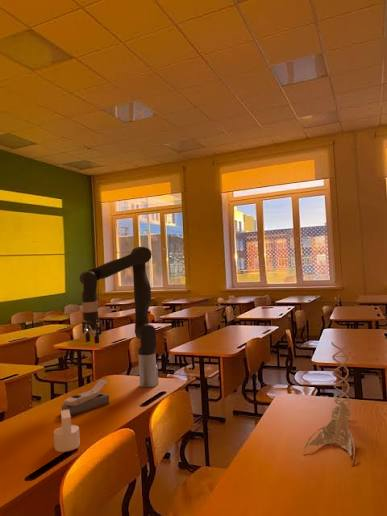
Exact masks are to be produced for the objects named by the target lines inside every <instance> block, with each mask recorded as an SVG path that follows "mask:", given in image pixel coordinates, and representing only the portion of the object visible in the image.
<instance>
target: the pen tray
mask: <svg viewBox="0 0 387 516" xmlns="http://www.w3.org/2000/svg"><path fill="white" fill-rule="evenodd" d="M108 403H109V404H110V395H109V394H107V393H104V392H99V393H98V395H97V397H96V398H94V399H91V400H89V401H86V402H84V403H82V404H80V405H76V406H70V405H66V406H63V407H61V411H62V410H68V409H69V411H70V416H71V417H72V416H76V415H80V414H82V413H85V412H89V411H91V410H93V409H97V408H99V406H100V407H103V406H106V405H109V404H108ZM63 404H64V403H62V404H61V405H63ZM105 404H106V405H105ZM102 405H103V406H102ZM96 407H97V408H96Z"/></svg>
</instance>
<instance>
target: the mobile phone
mask: <svg viewBox="0 0 387 516" xmlns="http://www.w3.org/2000/svg"><path fill="white" fill-rule="evenodd" d="M108 382H109V380H106V379H99V380H97V382H96V383H95V384H94V386H93V387H92V388H91V389H90V390H88V391H84V392H82V393H79V394H75V395H71V396H70V397H68V398H67V399H64V403H62V404H63V405H62V404H61V405H60V406H61V408H62V407H63V406H66V405H70V406H76V405H80V404H82V403H84V402H86V401H89V400H91V399H94V398H96V397H97V395H98V393H100V392H101V391H102V389H103V388H104V387H105V386H106V384H108Z"/></svg>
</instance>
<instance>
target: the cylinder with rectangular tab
mask: <svg viewBox="0 0 387 516" xmlns="http://www.w3.org/2000/svg"><path fill="white" fill-rule="evenodd" d="M60 416H61V417H60V419H61V426H60V427H57V428H55V429H54V431H53V439H54V440H53V441H54V442H53V444H54V445H53V446H54V450H55V451H56V452H61V453H64V452H70V451H74V450H75V449H77V448H78V447H80V445H81V444H80V443H81V442H80V441H81V439H80V427H79V426H78V425H75V424H72V416H70V411H69V409H68V410H62V409H61V410H60Z"/></svg>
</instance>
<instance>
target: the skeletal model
mask: <svg viewBox="0 0 387 516" xmlns="http://www.w3.org/2000/svg"><path fill="white" fill-rule="evenodd" d="M339 403H340V405H339V406H337V405H336V406H335V407H334V408H333V409H331V419H330V420H329V422H328V423H327V424H326V425H324V426H322V427H320V428H318V429H317V430H316V431H315V432H314V433H312V435H311V436H310V437H309V438H308V439H307V442H306V444H305V446H304V449H303V452H302V453H303V454H302V455H305V451H306V449H307V447H308V446H309V447H310V446H316V447H319V446H320V445H334V444H336V445H338V446H339V447H341V448H342V449H344V450H345V451H346V452H348V454H349V457H352V455H353V457H352V461H351V467H352V466H353V464H354V461H355V456H356V455H355V454H356V448H355V443H354V438H353V435H352V432H351V431H350V430H349V425H348V424H349V423H348V422H349V419H350V416H351V415H352V413H351V411H350V409H349V407H348V408H347V404H346V403H345V401H342V400H341V401H339ZM347 411H349V412H347ZM321 430H322V431H321ZM318 432H319V433H318ZM317 433H318V434H317ZM316 434H317V436H316V437H315V438H314V439H312V438H313V437H314V436H315V435H316ZM311 439H312V440H311ZM352 449H353V452H352Z"/></svg>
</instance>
